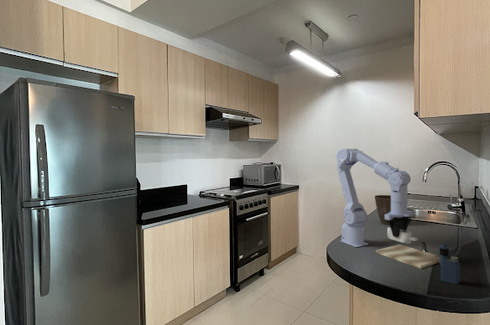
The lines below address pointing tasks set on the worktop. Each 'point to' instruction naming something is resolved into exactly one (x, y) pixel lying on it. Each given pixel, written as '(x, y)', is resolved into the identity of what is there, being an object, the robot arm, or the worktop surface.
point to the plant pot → (383, 206)
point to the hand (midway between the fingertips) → (398, 235)
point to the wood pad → (409, 256)
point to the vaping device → (449, 266)
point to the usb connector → (401, 236)
